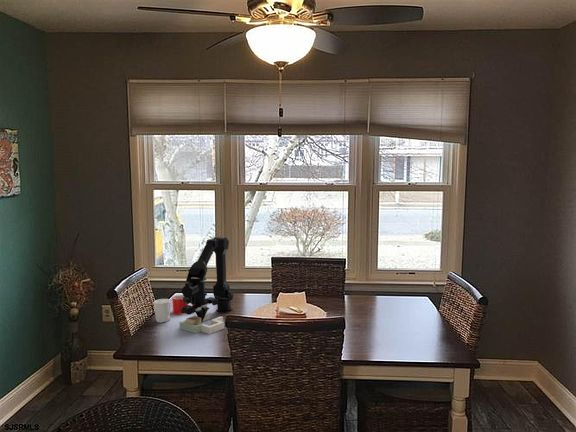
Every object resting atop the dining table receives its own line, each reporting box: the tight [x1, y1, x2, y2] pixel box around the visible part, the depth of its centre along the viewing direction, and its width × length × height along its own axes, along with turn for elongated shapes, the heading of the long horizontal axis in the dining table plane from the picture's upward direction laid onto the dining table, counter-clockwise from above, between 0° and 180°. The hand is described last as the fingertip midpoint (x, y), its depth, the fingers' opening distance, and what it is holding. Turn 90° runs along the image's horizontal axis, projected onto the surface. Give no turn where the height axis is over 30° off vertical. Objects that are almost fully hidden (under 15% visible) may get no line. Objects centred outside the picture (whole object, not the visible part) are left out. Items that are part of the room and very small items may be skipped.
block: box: [185, 315, 201, 326], centre depth 236 cm, size 5×5×5 cm
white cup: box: [153, 298, 171, 323], centre depth 248 cm, size 8×8×10 cm
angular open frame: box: [179, 312, 225, 335], centre depth 238 cm, size 18×18×3 cm
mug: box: [171, 294, 194, 315], centre depth 261 cm, size 8×12×8 cm, turn 85°
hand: (201, 322), depth 239 cm, fingers closed
